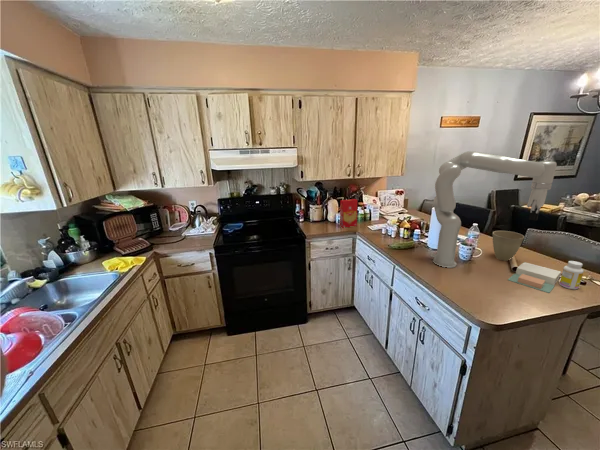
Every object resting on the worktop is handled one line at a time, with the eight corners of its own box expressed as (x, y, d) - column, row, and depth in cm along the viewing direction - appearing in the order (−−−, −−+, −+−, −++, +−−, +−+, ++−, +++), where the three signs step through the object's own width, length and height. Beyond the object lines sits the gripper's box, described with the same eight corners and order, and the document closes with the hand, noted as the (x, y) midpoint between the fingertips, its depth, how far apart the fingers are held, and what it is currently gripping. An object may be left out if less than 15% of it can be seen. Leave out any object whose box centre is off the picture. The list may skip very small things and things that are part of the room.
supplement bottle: (575, 284, 124) (582, 261, 120) (580, 291, 119) (588, 267, 115) (556, 281, 127) (563, 258, 124) (561, 287, 122) (568, 264, 118)
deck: (515, 274, 136) (517, 267, 135) (522, 268, 142) (524, 262, 141) (553, 285, 124) (555, 278, 123) (559, 278, 130) (561, 271, 129)
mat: (507, 280, 131) (507, 279, 131) (514, 274, 136) (514, 273, 136) (549, 293, 118) (549, 292, 118) (554, 286, 123) (554, 285, 123)
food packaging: (342, 228, 227) (343, 201, 219) (340, 226, 232) (340, 200, 224) (356, 226, 231) (357, 199, 224) (353, 224, 236) (354, 198, 229)
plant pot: (487, 252, 165) (492, 229, 160) (516, 256, 157) (522, 232, 152) (488, 260, 153) (493, 236, 149) (520, 265, 145) (526, 240, 140)
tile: (522, 273, 131) (521, 278, 131) (518, 277, 127) (517, 281, 128) (545, 280, 123) (544, 285, 124) (542, 284, 120) (540, 289, 121)
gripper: (535, 183, 135) (528, 216, 141) (527, 186, 127) (519, 221, 132) (554, 184, 129) (546, 218, 135) (546, 188, 121) (537, 224, 127)
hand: (532, 219), depth 134 cm, fingers closed
